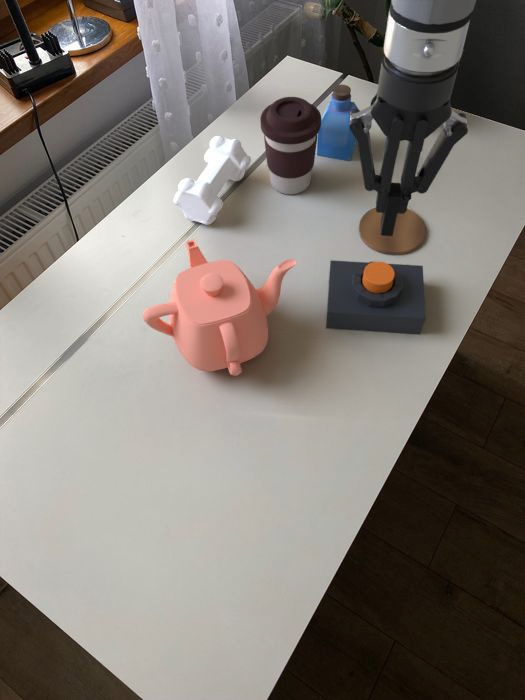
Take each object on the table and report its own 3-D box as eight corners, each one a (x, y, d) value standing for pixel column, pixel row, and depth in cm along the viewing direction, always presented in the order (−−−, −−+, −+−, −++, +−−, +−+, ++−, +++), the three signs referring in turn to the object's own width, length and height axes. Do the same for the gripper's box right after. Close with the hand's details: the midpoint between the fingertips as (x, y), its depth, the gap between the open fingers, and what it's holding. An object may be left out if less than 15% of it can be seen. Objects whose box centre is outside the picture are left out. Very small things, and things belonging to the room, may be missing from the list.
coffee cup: (251, 180, 109) (247, 107, 97) (292, 156, 113) (293, 82, 100) (288, 209, 105) (288, 136, 93) (329, 183, 108) (334, 109, 96)
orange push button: (392, 271, 89) (394, 262, 88) (392, 294, 87) (394, 285, 85) (362, 269, 90) (364, 260, 88) (362, 292, 87) (363, 283, 86)
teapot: (197, 283, 97) (185, 223, 85) (296, 314, 93) (297, 254, 81) (150, 363, 89) (130, 308, 77) (255, 400, 85) (251, 348, 73)
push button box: (417, 283, 95) (425, 257, 90) (420, 335, 90) (427, 310, 85) (328, 277, 96) (331, 252, 91) (325, 328, 91) (328, 304, 86)
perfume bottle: (316, 155, 113) (319, 97, 103) (325, 134, 116) (328, 76, 106) (349, 161, 111) (355, 103, 101) (356, 140, 115) (363, 82, 105)
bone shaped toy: (218, 232, 103) (213, 196, 96) (174, 219, 105) (166, 182, 98) (254, 176, 110) (252, 139, 103) (212, 165, 112) (207, 128, 105)
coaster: (423, 209, 104) (424, 206, 103) (426, 257, 98) (427, 254, 97) (359, 206, 105) (359, 203, 104) (358, 253, 99) (358, 250, 98)
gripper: (353, 76, 58) (335, 246, 77) (492, 81, 57) (438, 252, 76) (355, 33, 62) (337, 205, 82) (485, 37, 61) (435, 210, 80)
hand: (386, 228), depth 79 cm, fingers closed
